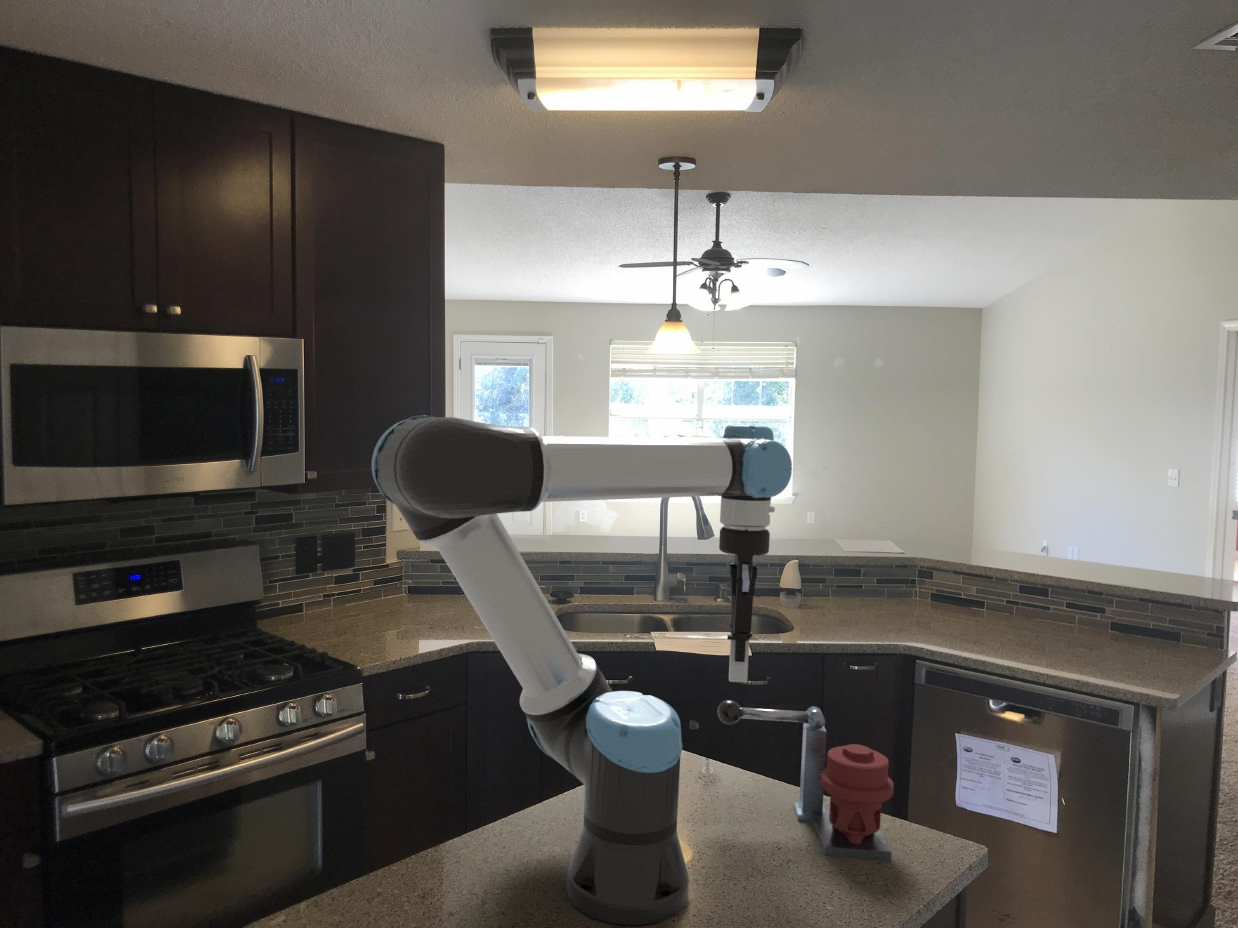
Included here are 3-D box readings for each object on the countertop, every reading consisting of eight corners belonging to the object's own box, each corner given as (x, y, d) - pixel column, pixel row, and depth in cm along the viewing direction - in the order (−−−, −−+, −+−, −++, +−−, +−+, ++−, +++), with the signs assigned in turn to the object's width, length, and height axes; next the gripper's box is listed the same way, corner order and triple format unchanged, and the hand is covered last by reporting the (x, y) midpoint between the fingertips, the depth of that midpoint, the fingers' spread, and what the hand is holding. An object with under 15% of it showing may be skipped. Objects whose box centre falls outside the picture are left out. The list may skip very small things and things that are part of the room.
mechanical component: (886, 822, 124) (894, 855, 114) (816, 814, 126) (819, 845, 116) (890, 740, 124) (899, 766, 114) (820, 733, 125) (823, 757, 116)
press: (808, 853, 116) (813, 757, 116) (793, 807, 131) (798, 721, 130) (891, 860, 115) (896, 763, 115) (867, 812, 130) (871, 726, 130)
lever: (717, 726, 127) (718, 703, 127) (716, 718, 131) (717, 696, 131) (824, 733, 126) (826, 710, 126) (820, 725, 130) (821, 702, 130)
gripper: (774, 533, 121) (767, 695, 122) (765, 523, 134) (758, 670, 135) (722, 530, 121) (715, 692, 122) (718, 521, 134) (711, 667, 135)
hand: (737, 680), depth 129 cm, fingers closed
